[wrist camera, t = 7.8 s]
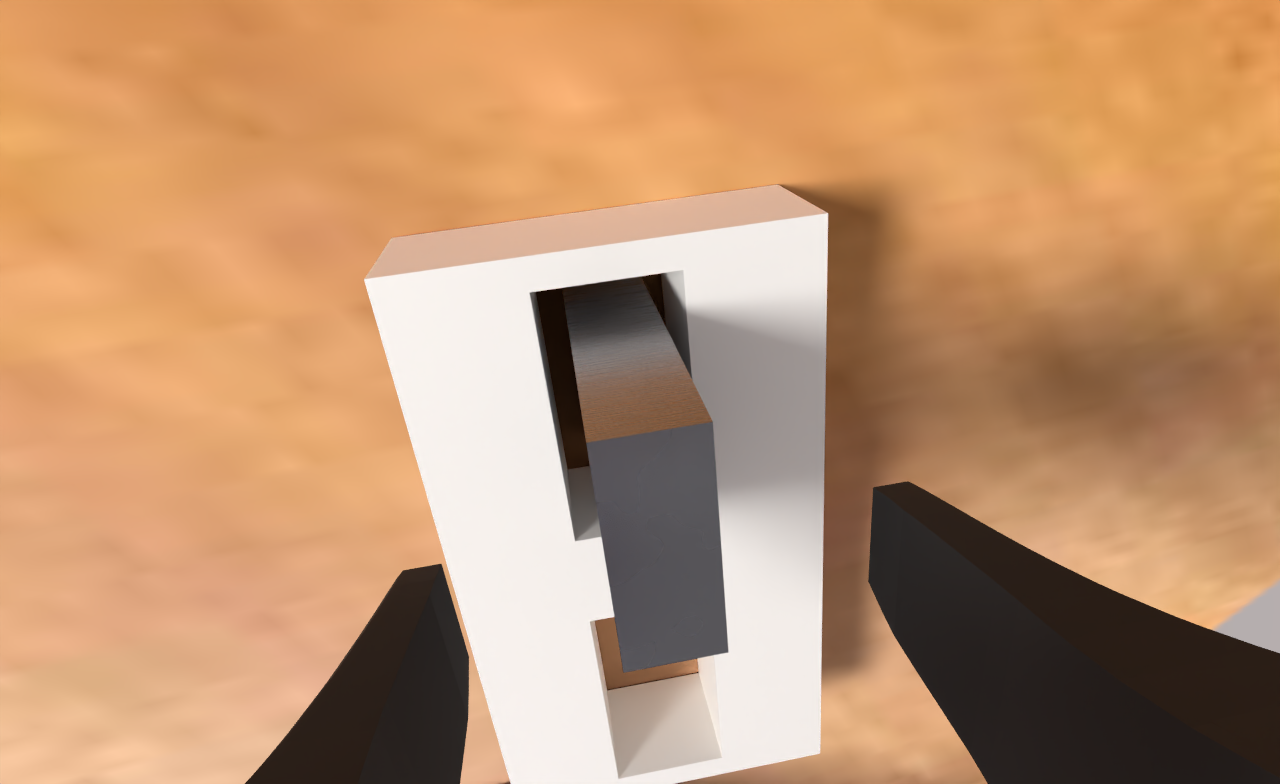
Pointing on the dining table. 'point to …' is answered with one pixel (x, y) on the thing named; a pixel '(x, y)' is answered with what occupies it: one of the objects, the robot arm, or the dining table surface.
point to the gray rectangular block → (649, 476)
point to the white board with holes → (564, 498)
